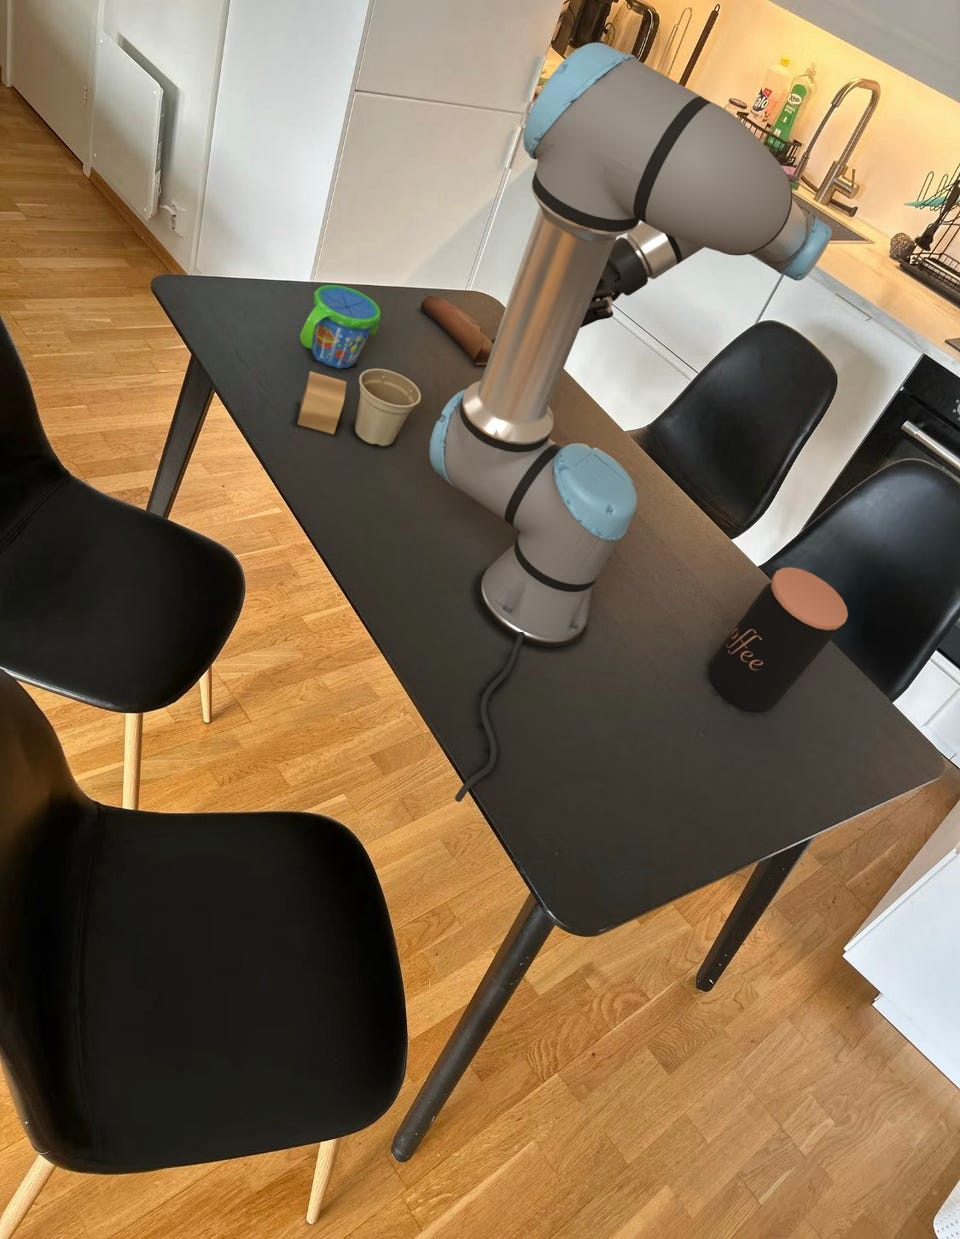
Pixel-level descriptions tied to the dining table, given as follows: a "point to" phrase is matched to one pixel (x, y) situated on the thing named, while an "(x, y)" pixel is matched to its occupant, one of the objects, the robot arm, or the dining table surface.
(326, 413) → the maple block
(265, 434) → the dining table surface
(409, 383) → the flower pot
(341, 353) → the snack cup
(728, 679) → the coffee jar
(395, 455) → the dining table surface
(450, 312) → the sunglasses case
